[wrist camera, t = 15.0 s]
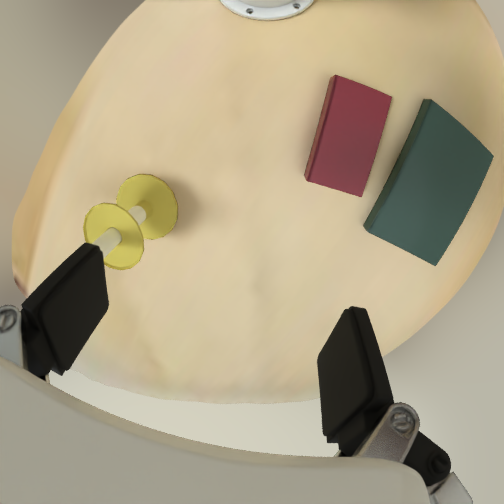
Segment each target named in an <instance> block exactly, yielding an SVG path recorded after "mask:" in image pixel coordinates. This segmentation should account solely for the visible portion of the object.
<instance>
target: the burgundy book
mask: <svg viewBox="0 0 504 504" xmlns="http://www.w3.org/2000/svg"><path fill="white" fill-rule="evenodd" d="M391 99H392V97H391V96H389V95H387V94H384V93H382V92H380V91H377V90H375V89H373V88H370V87H368V86H365V85H363V84H360V83H357V82H355V81H352V80H349V79H346V78H344V77H341V76H338V75H334V76H333V77H331V78H330V81H329V85H328V89H327V93H326V97H325V101H324V104H323V108H322V112H321V116H320V120H319V123H318V127H317V131H316V134H315V138H314V142H313V145H312V149H311V152H310V156H309V160H308V163H307V167H306V170H305V174H304V176H305V178H306V181H309V182H312V183H316V184H319V185H323V186H326V187H329V188H333V189H336V190H339V191H343V192H346V193H349V194H352V195H355V196H359V197H362V194H363V191H364V189H365V186H366V183H367V180H368V177H369V174H370V171H371V168H372V165H373V162H374V159H375V155H376V152H377V149H378V146H379V142H380V139H381V136H382V132H383V129H384V125H385V122H386V118H387V114H388V111H389V107H390V103H391Z"/></svg>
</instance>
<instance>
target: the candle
mask: <svg viewBox="0 0 504 504" xmlns="http://www.w3.org/2000/svg"><path fill="white" fill-rule="evenodd" d="M116 201H117V204H110V203H101V204H99V205H96V206H94V207H92V208H91V209H90V211H89V212H88V213H87V215H86V216H85V220H84V225H83V231H84V237H85V241H86V243H91V244H94V245H98V246H99V247H100V250H101V251H102V252H103V258H104V265H106V266H108V267H109V268H113V269H117V270H125V269H130V268H132V267H133V266H135V265H136V264H137V263H138V262H139V261H140V259H141V256H142V254H143V251H144V240H143V238H145V239H151V240H153V239H157V238H161V237H164V236H165V235H166V234H167V233H169V232H170V231H171V230H172V229H173V227H174V224H175V222H176V220H177V214H178V205H177V202H176V199H175V196H174V193H173V192H172V190H171V189H170V188H169V187H168V186H167V184H166V183H165V182H164V181H162V180H160V179H159V178H157V177H155V176H153V175H146V174H138V175H136V176H133V177H130V178H128V179H127V180H126V181H125V182H124V184H123V185H122V186H121V187H120V189H119V192H118V195H117V198H116Z"/></svg>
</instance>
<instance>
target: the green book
mask: <svg viewBox="0 0 504 504" xmlns="http://www.w3.org/2000/svg"><path fill="white" fill-rule="evenodd" d="M493 157H494V156H493V155H492V154H491V152H490V151H489V150H488V149H487V148H486V147H485V146H484V145H483V144H482V143H481V142H480V141H479V140H478V139H477V138H476V137H475V136H474V135H473V134H472V133H470V132H469V131H468V130H467V129H466V128H465V127H464V126H463V125H462V124H461V123H459V122H458V121H457V120H456V119H455V118H454V117H453V116H451V115H450V114H449V113H448V112H447V111H445V110H444V109H443V108H442V107H440V106H439V105H438V104H437V103H435V102H434V101H433V100H431V99H424V100H423V103H422V105H421V108H420V110H419V112H418V115H417V117H416V120H415V122H414V124H413V127H412V129H411V131H410V134H409V136H408V138H407V140H406V142H405V145H404V147H403V149H402V151H401V153H400V155H399V158H398V160H397V162H396V164H395V166H394V168H393V170H392V172H391V174H390V176H389V178H388V180H387V182H386V184H385V186H384V188H383V190H382V192H381V194H380V196H379V198H378V200H377V201H376V203H375V205H374V207H373V209H372V211H371V213H370V214H369V216H368V218H367V220H366V222H365V224H364V225H363V226H364V228H365V229H366V231H367V232H369V233H371V234H373V235H375V236H377V237H379V238H381V239H383V240H385V241H387V242H389V243H391V244H393V245H395V246H397V247H399V248H401V249H403V250H405V251H407V252H409V253H411V254H413V255H415V256H417V257H419V258H421V259H423V260H425V261H427V262H428V263H430V264H432V265H434V266H436V265H437V263H438V262H439V260H440V259H441V257H442V256H443V254H444V252H445V251H446V249H447V248H448V246H449V244H450V243H451V241H452V239H453V238H454V236H455V234H456V233H457V231H458V229H459V227H460V226H461V224H462V222H463V220H464V218H465V217H466V215H467V213H468V211H469V209H470V207H471V205H472V203H473V201H474V199H475V197H476V195H477V193H478V191H479V189H480V187H481V185H482V183H483V180H484V178H485V176H486V174H487V171H488V169H489V167H490V164H491V162H492V159H493Z"/></svg>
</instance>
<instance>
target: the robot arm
mask: <svg viewBox="0 0 504 504" xmlns="http://www.w3.org/2000/svg"><path fill="white" fill-rule="evenodd" d="M220 1H221V3H222V4H223V5H224V6H225V7H226V8H228V9H229V10H231V11H232V12H234V13H236V14H238V15H240V16H243V17H246V18H250V19H256V20H280V19H284V18H289V17H292V16H294V15H297V14H299V13H301V12H302V11H304V10H305V9H307V8H308V7H309V6H310V5H311V4H312V3H313V1H314V0H220ZM295 7H298V9H296V8H295ZM249 12H253V13H251V14H248V13H249ZM108 306H109V301H108V294H107V286H106V278H105V269H104V258H103V252H102V251H101V250H100V247H99V246H98V245H94V244H91V243H84V244H83V245H82V246H80V247H79V248H78V249H77V250H76V251H75V252H74V253H73V254H72V255H70V256H69V257H68V258H67V259H66V260H65V261H64V262H63V263H62V264H61V265H60V266H59V267H58V268H57V269H56V270H55V271H53V272H52V273H51V274H50V275H49V276H48V277H47V278H46V279H45V280H44V281H43V282H42V283H41V284H40V285H39V286H38V287H37V289H36V290H35V291H34V292H33V293H32V294H31V295H30V296H29V297H28V298H27V299H26V300H25V301H24V302H23V303H22V308H23V309H22V310H21V311H19V309H18V308H17V307H15V306H13V305H5V306H1V307H0V504H473V500H472V498H471V496H470V495H469V493H468V492H467V490H466V489H465V487H464V486H463V485H462V483H461V482H460V480H459V479H458V477H457V476H456V475H455V473H454V472H452V473H450V469H451V462H450V458H449V456H448V454H447V453H446V452H445V451H444V450H443V449H441V448H440V447H439V446H438V445H436V444H435V443H433V442H432V441H431V440H430V439H429V438H427V437H426V436H425V435H423V434H422V433H421V432H420V431H418V430H419V426H420V422H419V421H420V420H419V417H418V414H417V413H416V411H415V410H414V409H413V408H412V407H411V406H409V405H408V404H405V403H401V402H400V403H394V400H393V395H392V391H391V387H390V384H389V380H388V376H387V373H386V369H385V366H384V362H383V359H382V356H381V353H380V349H379V346H378V343H377V340H376V337H375V334H374V331H373V328H372V325H371V322H370V319H369V316H368V313H367V311H366V309H364V308H359V307H354V306H351V307H350V308H349V309H345V310H344V312H343V313H342V315H341V317H340V319H339V321H338V322H337V324H336V326H335V328H334V329H333V331H332V333H331V335H330V336H329V338H328V340H327V342H326V343H325V345H324V347H323V348H322V350H321V352H320V353H319V355H318V359H317V365H318V376H319V387H320V400H321V412H322V427H323V428H322V429H323V434H324V436H327V443H338V445H339V451H338V452H337V453H336V454H335V456H334V457H310V456H292V455H291V456H290V455H278V454H268V453H259V452H251V451H245V450H238V449H232V448H226V447H221V446H216V445H211V444H207V443H202V442H197V441H193V440H189V439H185V438H182V437H178V436H174V435H171V434H167V433H164V432H161V431H157V430H154V429H151V428H148V427H145V426H142V425H139V424H136V423H134V422H131V421H128V420H126V419H123V418H120V417H118V416H115V415H113V414H110V413H108V412H105V411H103V410H101V409H98V408H96V407H94V406H92V405H90V404H88V403H85V402H83V401H81V400H79V399H77V398H75V397H73V396H71V395H69V394H67V393H65V392H64V391H62V390H60V389H58V388H56V387H54V386H52V385H51V384H50V381H49V375H48V374H49V372H50V370H52V371H54V372H56V373H57V374H59V375H61V376H62V375H63V373H64V372H65V370H66V371H67V370H69V369H70V367H71V366H72V364H73V363H74V361H75V359H76V358H77V356H78V354H79V353H80V351H81V350H82V348H83V346H84V345H85V343H86V342H87V340H88V339H89V337H90V336H91V334H92V333H93V331H94V329H95V328H96V326H97V325H98V323H99V322H100V321H101V319H102V318H103V316H104V315H105V313H106V312H107V310H108Z"/></svg>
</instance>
